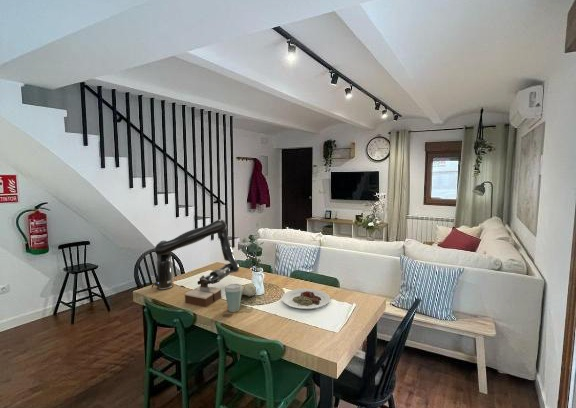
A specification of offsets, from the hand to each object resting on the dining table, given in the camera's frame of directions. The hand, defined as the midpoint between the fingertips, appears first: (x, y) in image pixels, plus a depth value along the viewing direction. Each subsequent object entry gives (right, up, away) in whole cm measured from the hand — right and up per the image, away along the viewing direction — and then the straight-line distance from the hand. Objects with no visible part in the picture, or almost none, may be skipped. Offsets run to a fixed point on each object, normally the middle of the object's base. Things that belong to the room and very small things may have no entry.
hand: (201, 283), depth 195 cm
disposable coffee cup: (+22, -13, -10) cm, 28 cm away
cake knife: (+1, -12, +4) cm, 12 cm away
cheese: (+30, -10, +13) cm, 34 cm away
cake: (0, -12, +4) cm, 12 cm away
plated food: (+65, -11, +1) cm, 66 cm away
